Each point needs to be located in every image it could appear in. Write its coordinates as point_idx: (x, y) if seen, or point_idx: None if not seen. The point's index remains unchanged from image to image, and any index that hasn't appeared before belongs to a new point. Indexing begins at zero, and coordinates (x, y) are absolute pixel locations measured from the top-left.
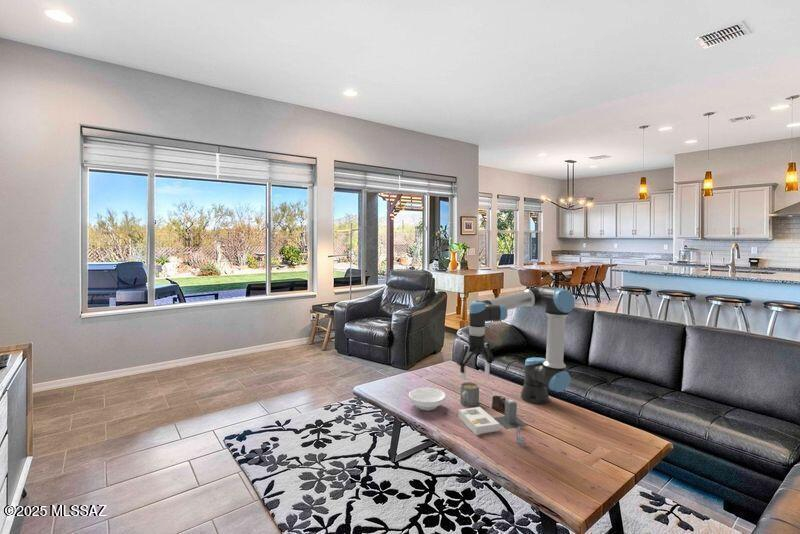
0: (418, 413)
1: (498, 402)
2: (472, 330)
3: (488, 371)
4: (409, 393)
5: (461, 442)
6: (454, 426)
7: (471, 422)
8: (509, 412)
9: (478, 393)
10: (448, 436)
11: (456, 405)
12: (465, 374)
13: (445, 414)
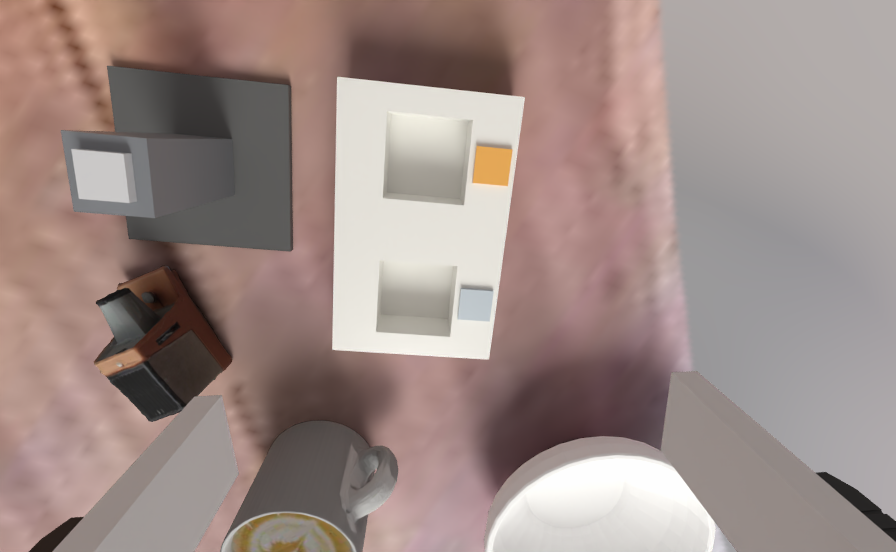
0: (653, 441)
1: (173, 350)
2: None
3: (162, 456)
4: None
5: (646, 61)
6: (566, 250)
7: (513, 176)
8: (189, 138)
9: (259, 484)
10: (668, 158)
11: (411, 460)
12: (746, 432)
13: (529, 389)
